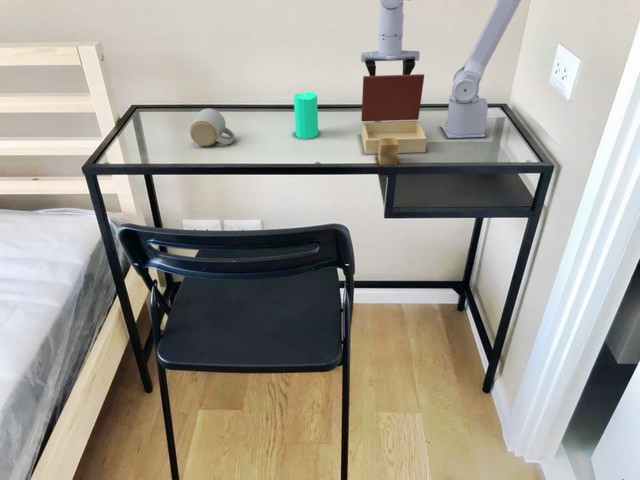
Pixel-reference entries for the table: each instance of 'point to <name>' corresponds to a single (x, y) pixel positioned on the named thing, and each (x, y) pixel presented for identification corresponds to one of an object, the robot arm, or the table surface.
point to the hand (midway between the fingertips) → (388, 89)
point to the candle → (306, 115)
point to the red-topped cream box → (394, 136)
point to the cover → (391, 97)
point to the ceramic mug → (210, 128)
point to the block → (387, 151)
